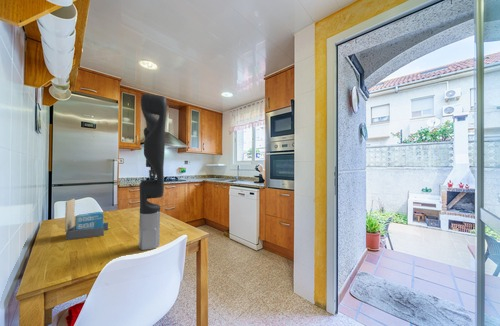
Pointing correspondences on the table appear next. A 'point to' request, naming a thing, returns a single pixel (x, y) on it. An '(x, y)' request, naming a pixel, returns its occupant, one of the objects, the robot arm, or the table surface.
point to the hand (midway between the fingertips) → (152, 187)
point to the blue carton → (89, 221)
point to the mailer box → (70, 227)
